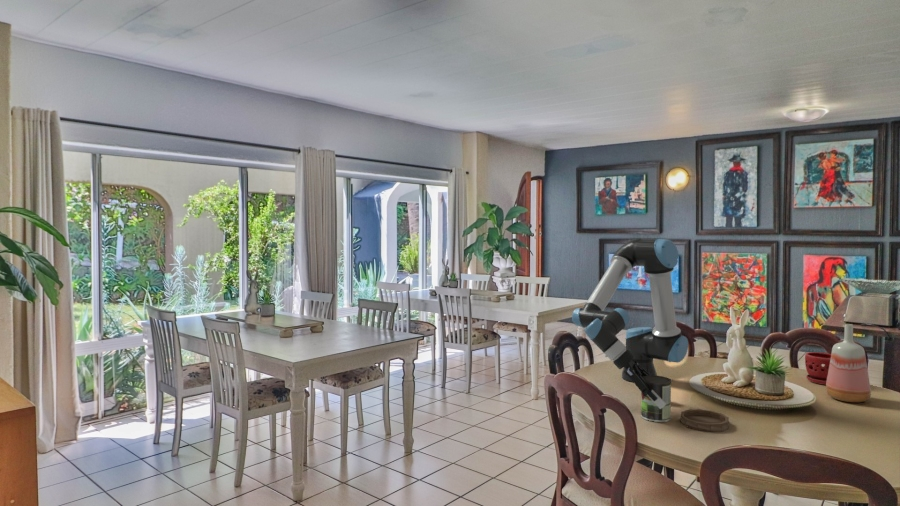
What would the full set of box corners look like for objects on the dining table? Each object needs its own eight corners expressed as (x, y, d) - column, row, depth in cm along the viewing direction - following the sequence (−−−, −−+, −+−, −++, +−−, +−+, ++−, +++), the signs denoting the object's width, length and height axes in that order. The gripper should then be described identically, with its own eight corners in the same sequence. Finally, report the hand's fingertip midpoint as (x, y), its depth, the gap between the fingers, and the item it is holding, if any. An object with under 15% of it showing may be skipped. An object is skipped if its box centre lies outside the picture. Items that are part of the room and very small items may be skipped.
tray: (682, 414, 206) (682, 407, 206) (728, 419, 199) (728, 412, 199) (679, 427, 192) (679, 420, 192) (728, 434, 186) (728, 426, 185)
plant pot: (842, 388, 234) (843, 359, 234) (805, 383, 241) (806, 356, 240) (839, 380, 246) (839, 353, 245) (803, 376, 252) (804, 350, 252)
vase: (829, 402, 216) (830, 326, 215) (822, 392, 229) (824, 320, 228) (874, 407, 210) (876, 329, 208) (865, 396, 223) (867, 322, 222)
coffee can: (648, 423, 197) (648, 383, 196) (636, 413, 207) (636, 375, 207) (676, 421, 198) (676, 382, 197) (663, 412, 208) (663, 374, 207)
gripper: (617, 354, 218) (660, 399, 212) (606, 368, 198) (653, 418, 192) (631, 342, 216) (675, 387, 210) (622, 355, 196) (670, 405, 190)
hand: (664, 402), depth 201 cm, fingers closed on coffee can, 10 cm apart
